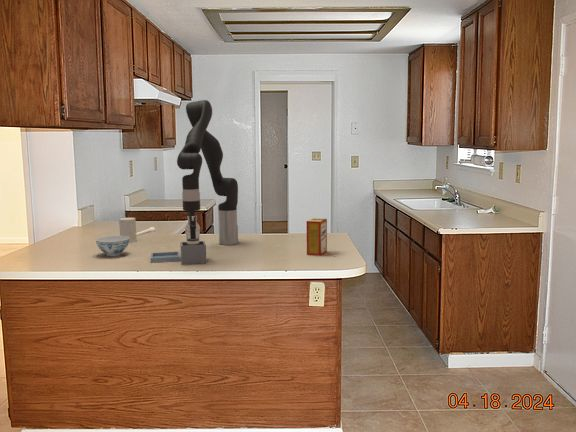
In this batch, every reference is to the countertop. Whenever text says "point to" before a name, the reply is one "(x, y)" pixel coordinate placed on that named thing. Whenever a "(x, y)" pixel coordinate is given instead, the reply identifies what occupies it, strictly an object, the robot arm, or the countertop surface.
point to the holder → (193, 253)
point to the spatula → (146, 231)
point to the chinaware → (112, 244)
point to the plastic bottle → (187, 230)
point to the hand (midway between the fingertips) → (192, 237)
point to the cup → (128, 228)
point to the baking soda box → (316, 236)
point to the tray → (165, 257)
